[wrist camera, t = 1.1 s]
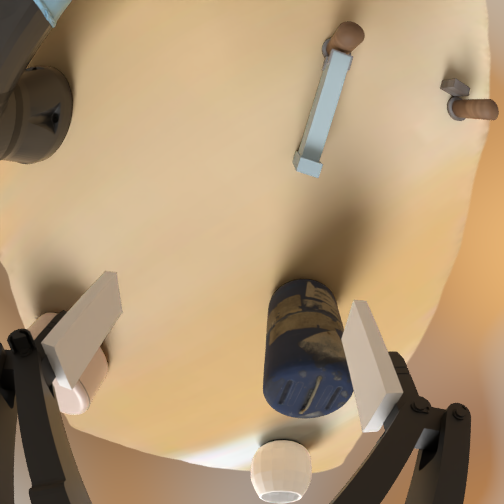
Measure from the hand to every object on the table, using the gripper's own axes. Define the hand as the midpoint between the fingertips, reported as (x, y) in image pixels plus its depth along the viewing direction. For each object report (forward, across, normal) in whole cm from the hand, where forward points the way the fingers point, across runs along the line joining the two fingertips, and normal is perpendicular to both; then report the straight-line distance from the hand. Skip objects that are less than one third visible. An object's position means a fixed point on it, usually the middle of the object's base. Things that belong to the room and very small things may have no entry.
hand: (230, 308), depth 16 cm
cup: (+23, +11, -54) cm, 60 cm away
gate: (+23, +6, +11) cm, 26 cm away
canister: (+23, +8, -14) cm, 28 cm away
